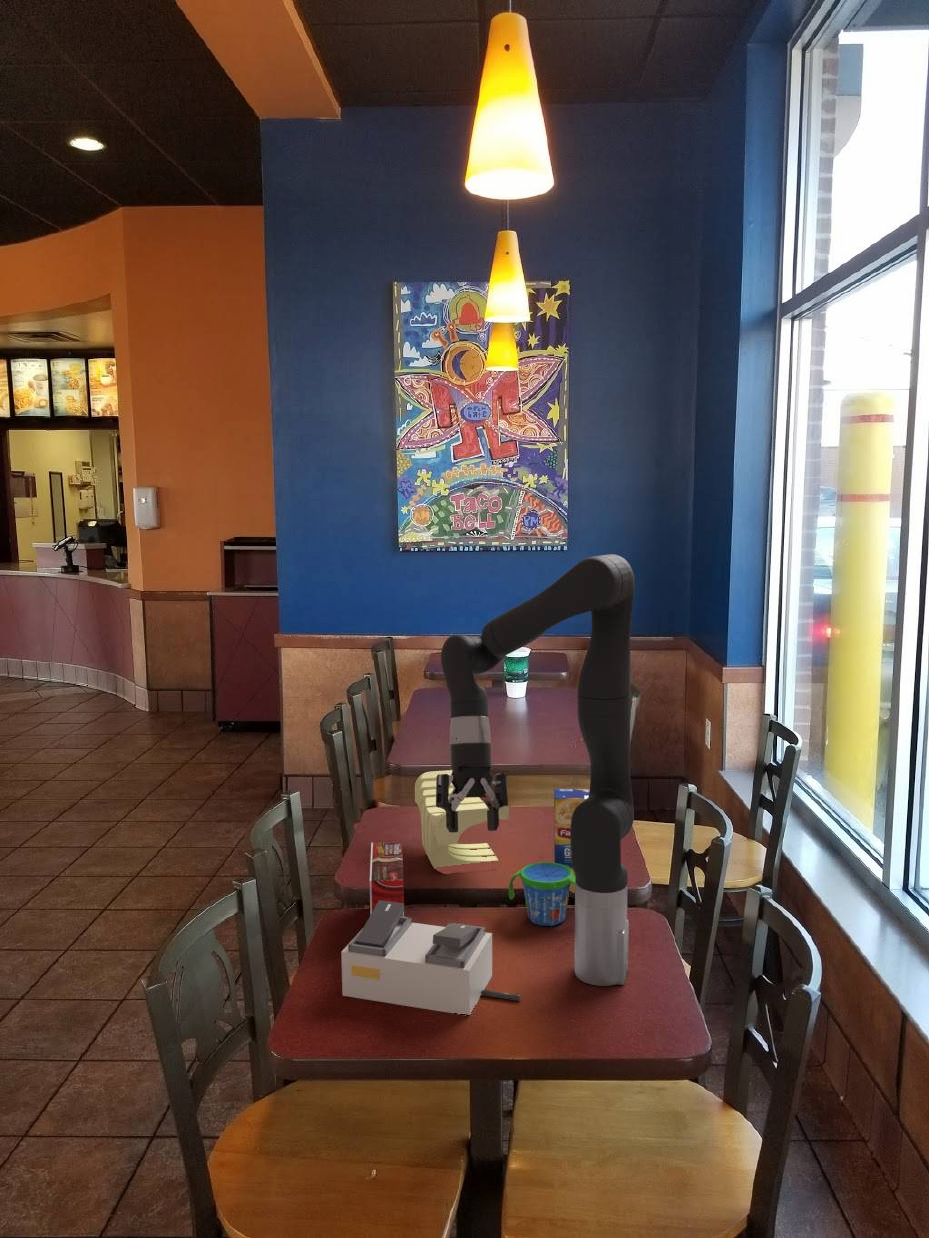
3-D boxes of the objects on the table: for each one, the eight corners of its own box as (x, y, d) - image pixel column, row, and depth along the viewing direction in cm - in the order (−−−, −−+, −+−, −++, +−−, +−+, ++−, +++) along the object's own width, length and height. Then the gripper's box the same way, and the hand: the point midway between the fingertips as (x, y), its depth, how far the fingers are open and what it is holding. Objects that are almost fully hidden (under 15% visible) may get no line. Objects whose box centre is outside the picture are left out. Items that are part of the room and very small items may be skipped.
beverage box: (606, 899, 204) (607, 799, 201) (554, 898, 205) (554, 798, 202) (603, 886, 211) (605, 789, 208) (553, 884, 212) (554, 788, 209)
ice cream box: (372, 902, 203) (371, 842, 202) (402, 901, 204) (401, 841, 202) (371, 947, 184) (369, 880, 182) (404, 945, 184) (403, 879, 182)
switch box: (530, 980, 170) (530, 931, 169) (510, 1023, 157) (510, 970, 156) (373, 957, 179) (372, 911, 178) (341, 996, 166) (340, 946, 164)
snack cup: (500, 922, 194) (500, 874, 192) (521, 902, 203) (521, 856, 202) (573, 938, 187) (574, 888, 185) (591, 916, 196) (592, 868, 195)
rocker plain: (477, 935, 170) (478, 926, 170) (459, 947, 160) (460, 938, 160) (452, 931, 172) (452, 923, 172) (432, 943, 161) (433, 934, 161)
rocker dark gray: (404, 909, 174) (403, 903, 174) (382, 951, 165) (381, 944, 164) (379, 906, 176) (378, 899, 175) (357, 947, 166) (355, 940, 165)
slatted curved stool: (415, 842, 238) (414, 772, 236) (478, 836, 241) (477, 768, 239) (438, 890, 209) (437, 812, 206) (509, 884, 212) (509, 806, 210)
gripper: (448, 740, 171) (451, 833, 168) (513, 741, 179) (517, 830, 176) (427, 743, 177) (429, 833, 174) (490, 743, 185) (493, 829, 182)
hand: (473, 831), depth 175 cm, fingers open, 8 cm apart
